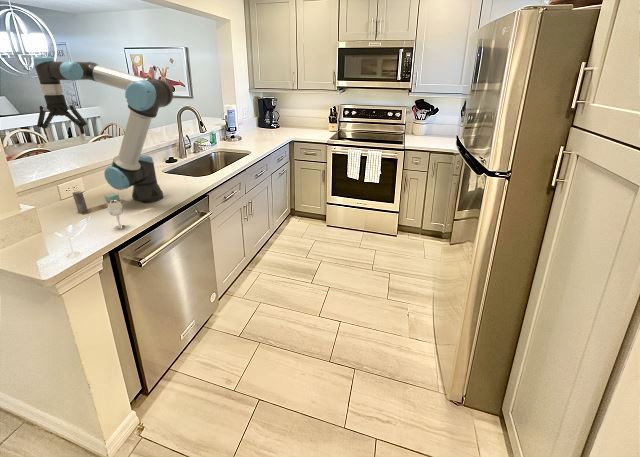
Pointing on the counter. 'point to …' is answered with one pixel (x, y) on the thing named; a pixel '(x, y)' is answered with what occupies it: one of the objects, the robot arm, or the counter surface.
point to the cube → (111, 197)
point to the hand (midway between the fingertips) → (67, 141)
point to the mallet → (82, 205)
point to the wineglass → (116, 210)
